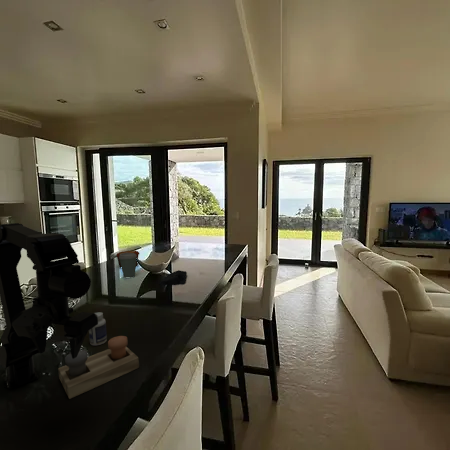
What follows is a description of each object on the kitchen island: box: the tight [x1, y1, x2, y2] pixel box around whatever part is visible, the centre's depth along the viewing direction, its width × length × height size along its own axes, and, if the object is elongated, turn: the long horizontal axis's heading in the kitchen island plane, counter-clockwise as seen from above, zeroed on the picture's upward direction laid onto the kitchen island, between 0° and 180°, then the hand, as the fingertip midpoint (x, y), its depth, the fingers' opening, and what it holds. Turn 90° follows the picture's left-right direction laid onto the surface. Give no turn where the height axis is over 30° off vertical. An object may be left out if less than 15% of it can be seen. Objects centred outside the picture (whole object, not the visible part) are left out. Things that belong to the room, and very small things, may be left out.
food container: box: [115, 250, 140, 268], centre depth 202 cm, size 16×16×11 cm
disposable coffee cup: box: [119, 253, 137, 278], centre depth 175 cm, size 11×11×15 cm
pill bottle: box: [88, 311, 108, 346], centre depth 95 cm, size 5×5×10 cm
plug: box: [64, 349, 89, 377], centre depth 74 cm, size 5×5×5 cm
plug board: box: [57, 346, 140, 400], centre depth 78 cm, size 11×18×3 cm, turn 132°
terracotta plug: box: [107, 335, 128, 359], centre depth 81 cm, size 5×5×5 cm
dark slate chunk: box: [158, 269, 188, 286], centre depth 167 cm, size 15×22×5 cm
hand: (58, 355), depth 65 cm, fingers open, 9 cm apart
